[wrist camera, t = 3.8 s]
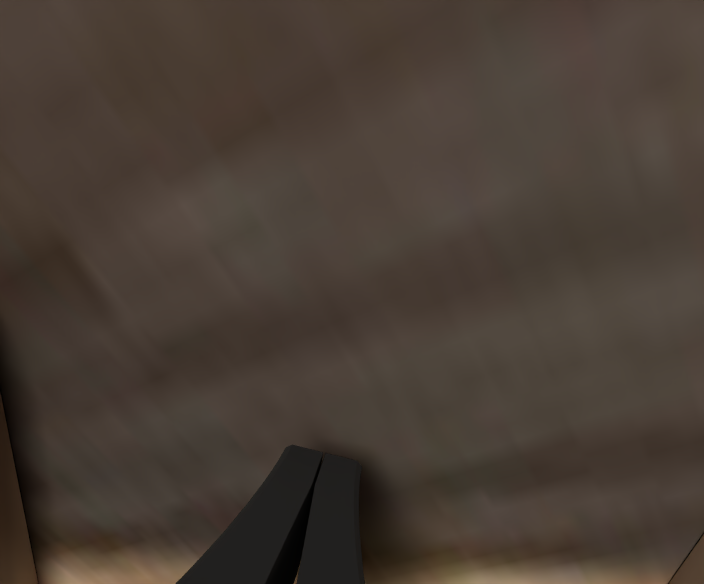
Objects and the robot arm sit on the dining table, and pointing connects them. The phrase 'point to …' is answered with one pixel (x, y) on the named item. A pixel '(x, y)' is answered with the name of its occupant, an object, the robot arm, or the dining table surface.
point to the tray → (16, 555)
